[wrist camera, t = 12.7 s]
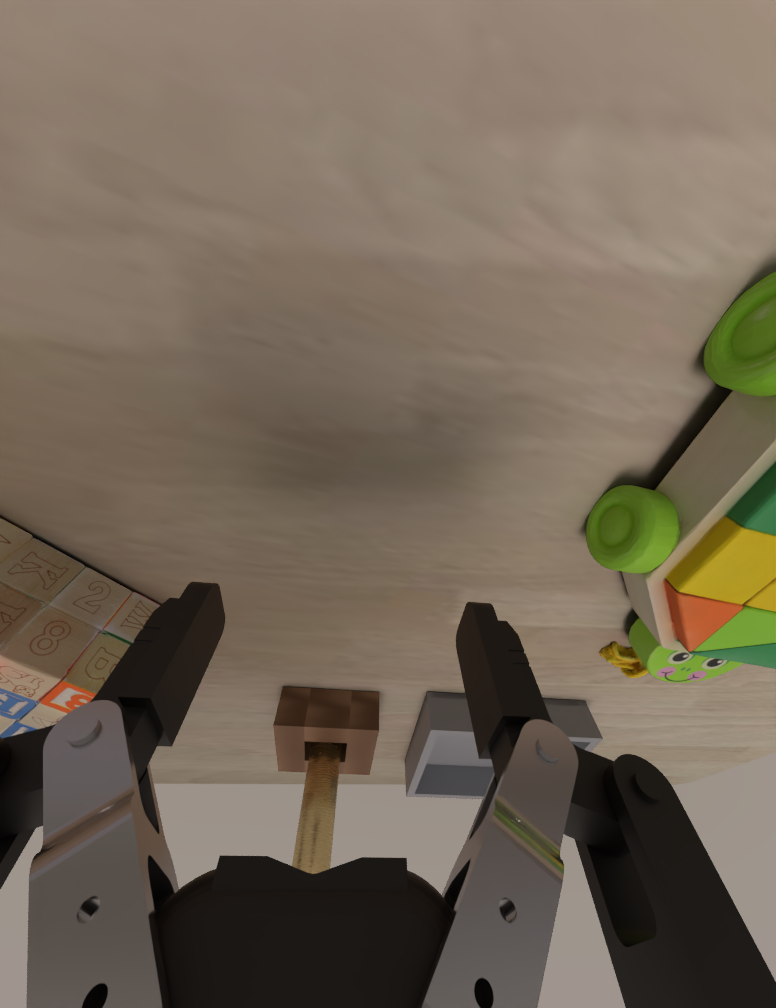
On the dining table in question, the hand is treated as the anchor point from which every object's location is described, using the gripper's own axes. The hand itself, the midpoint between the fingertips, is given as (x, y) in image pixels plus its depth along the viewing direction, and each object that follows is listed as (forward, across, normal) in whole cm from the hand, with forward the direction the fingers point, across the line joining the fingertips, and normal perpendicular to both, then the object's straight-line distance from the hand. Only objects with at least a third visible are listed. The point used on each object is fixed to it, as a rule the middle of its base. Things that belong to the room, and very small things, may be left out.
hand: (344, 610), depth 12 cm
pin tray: (+9, -14, +26) cm, 31 cm away
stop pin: (+9, +1, +24) cm, 26 cm away
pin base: (+9, +1, +24) cm, 26 cm away
